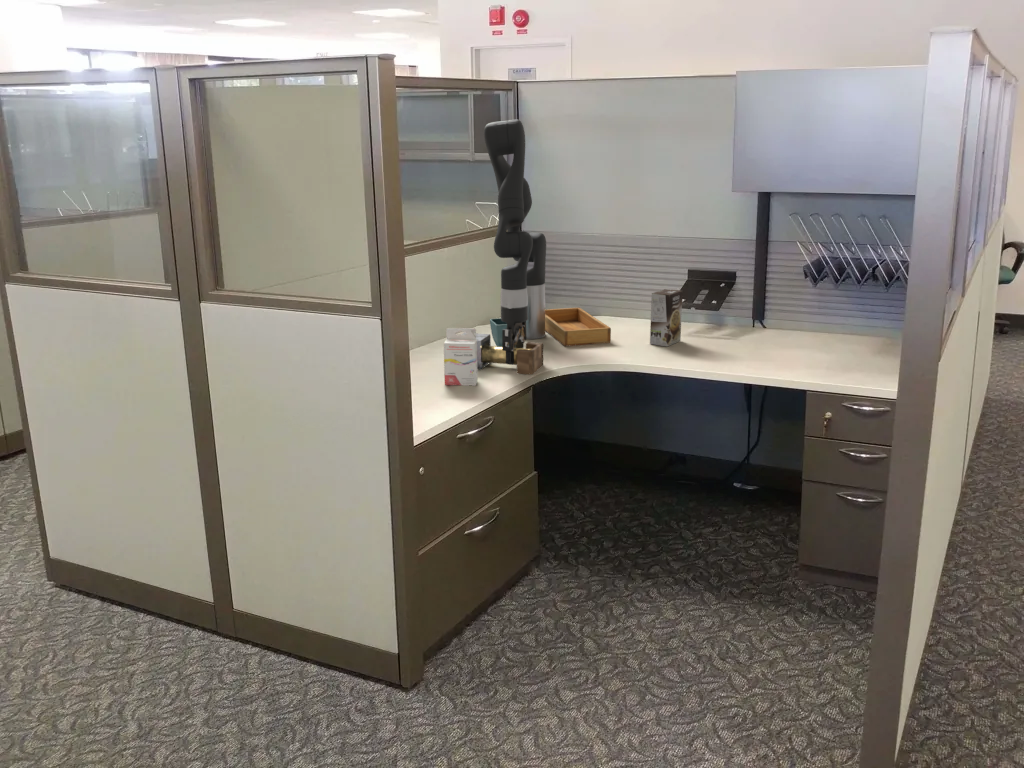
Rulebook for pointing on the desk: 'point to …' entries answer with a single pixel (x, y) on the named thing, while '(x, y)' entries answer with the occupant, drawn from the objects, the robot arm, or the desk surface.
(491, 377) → the desk surface
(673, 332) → the coffee box
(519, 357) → the socket
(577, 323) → the tray
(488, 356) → the tube
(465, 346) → the ink cartridge box
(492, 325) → the flower pot
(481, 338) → the sleeve
